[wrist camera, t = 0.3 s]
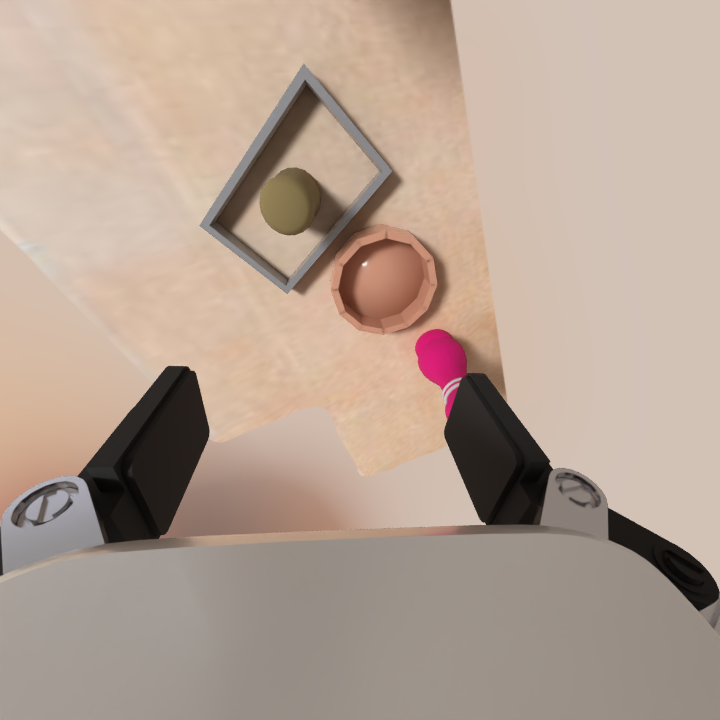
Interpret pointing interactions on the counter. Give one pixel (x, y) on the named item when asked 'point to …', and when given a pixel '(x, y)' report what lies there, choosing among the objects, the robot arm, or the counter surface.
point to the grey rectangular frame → (252, 155)
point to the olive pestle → (290, 201)
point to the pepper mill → (442, 363)
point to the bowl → (383, 279)
